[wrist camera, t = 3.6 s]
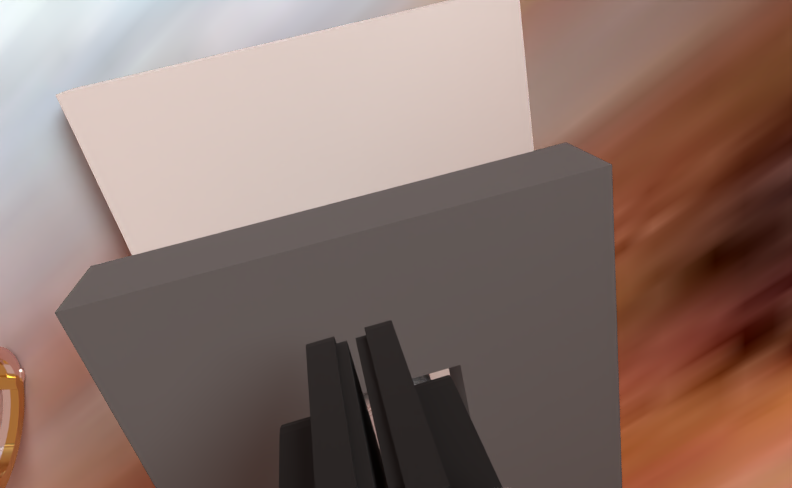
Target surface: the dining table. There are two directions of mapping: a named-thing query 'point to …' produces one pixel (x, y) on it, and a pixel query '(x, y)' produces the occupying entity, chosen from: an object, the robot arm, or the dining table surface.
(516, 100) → the stand plate
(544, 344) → the square hole plate
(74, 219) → the dining table surface
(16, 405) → the ring
